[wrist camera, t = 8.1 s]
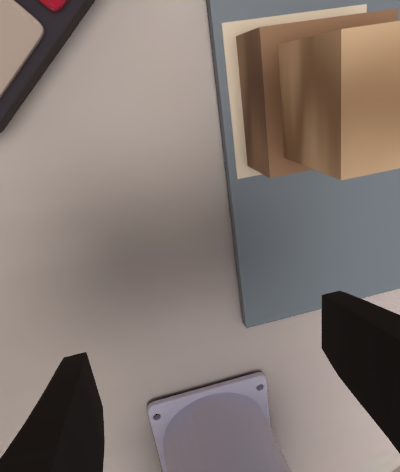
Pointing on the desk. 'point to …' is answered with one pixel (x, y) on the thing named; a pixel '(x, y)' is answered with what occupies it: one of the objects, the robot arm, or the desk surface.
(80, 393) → the robot arm
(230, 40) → the board
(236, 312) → the desk surface
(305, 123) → the oak cube
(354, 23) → the walnut slab
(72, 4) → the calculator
